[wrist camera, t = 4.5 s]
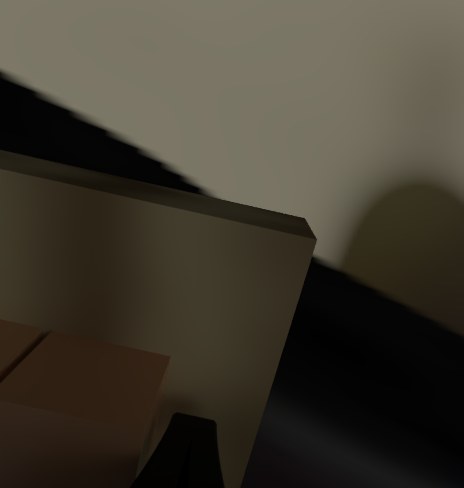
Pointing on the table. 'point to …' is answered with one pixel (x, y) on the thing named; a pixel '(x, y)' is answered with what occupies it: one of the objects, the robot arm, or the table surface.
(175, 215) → the olive square panel
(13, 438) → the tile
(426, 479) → the table surface
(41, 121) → the table surface
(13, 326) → the brown block
